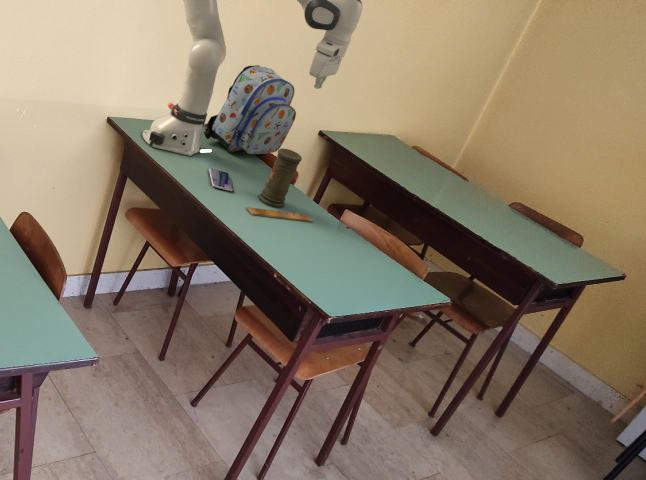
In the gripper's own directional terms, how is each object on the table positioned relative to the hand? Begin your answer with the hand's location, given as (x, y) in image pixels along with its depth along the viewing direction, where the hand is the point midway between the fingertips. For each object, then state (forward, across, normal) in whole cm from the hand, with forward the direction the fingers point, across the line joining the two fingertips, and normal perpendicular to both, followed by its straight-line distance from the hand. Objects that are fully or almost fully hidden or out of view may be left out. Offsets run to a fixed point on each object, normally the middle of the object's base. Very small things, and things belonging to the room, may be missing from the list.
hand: (317, 88), depth 215 cm
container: (+35, +24, +7) cm, 43 cm away
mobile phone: (+35, +29, -12) cm, 47 cm away
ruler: (+35, +31, +14) cm, 49 cm away
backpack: (+35, -12, -23) cm, 44 cm away
